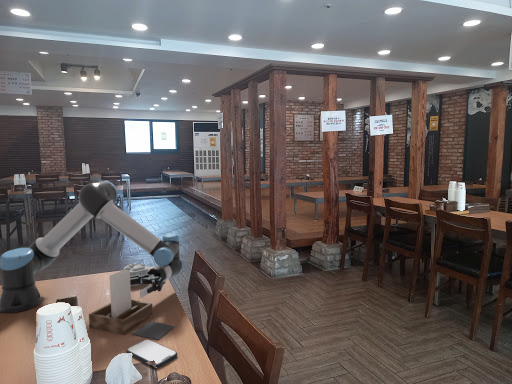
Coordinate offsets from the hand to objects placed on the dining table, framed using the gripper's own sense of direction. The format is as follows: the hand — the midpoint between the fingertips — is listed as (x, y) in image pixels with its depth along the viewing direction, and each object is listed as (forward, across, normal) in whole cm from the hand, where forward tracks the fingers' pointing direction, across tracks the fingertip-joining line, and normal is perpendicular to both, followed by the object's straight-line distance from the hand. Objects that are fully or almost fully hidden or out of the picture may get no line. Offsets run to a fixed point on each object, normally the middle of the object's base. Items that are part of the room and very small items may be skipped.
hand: (125, 291), depth 135 cm
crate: (+2, +1, -11) cm, 11 cm away
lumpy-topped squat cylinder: (-35, +24, -11) cm, 44 cm away
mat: (+4, -15, -11) cm, 19 cm away
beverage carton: (+9, +21, -11) cm, 26 cm away
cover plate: (+2, +1, -10) cm, 10 cm away
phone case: (+17, -24, -12) cm, 32 cm away
